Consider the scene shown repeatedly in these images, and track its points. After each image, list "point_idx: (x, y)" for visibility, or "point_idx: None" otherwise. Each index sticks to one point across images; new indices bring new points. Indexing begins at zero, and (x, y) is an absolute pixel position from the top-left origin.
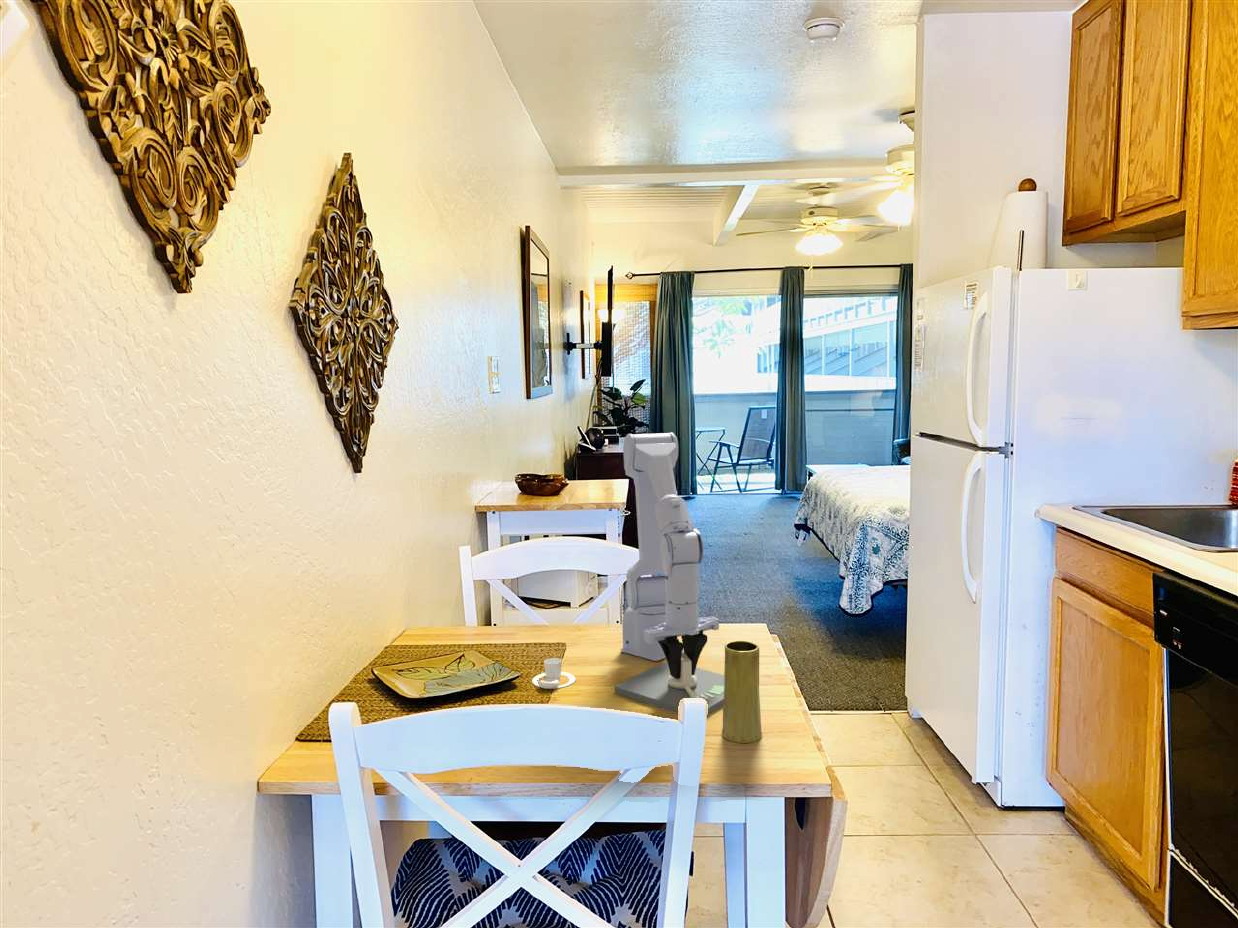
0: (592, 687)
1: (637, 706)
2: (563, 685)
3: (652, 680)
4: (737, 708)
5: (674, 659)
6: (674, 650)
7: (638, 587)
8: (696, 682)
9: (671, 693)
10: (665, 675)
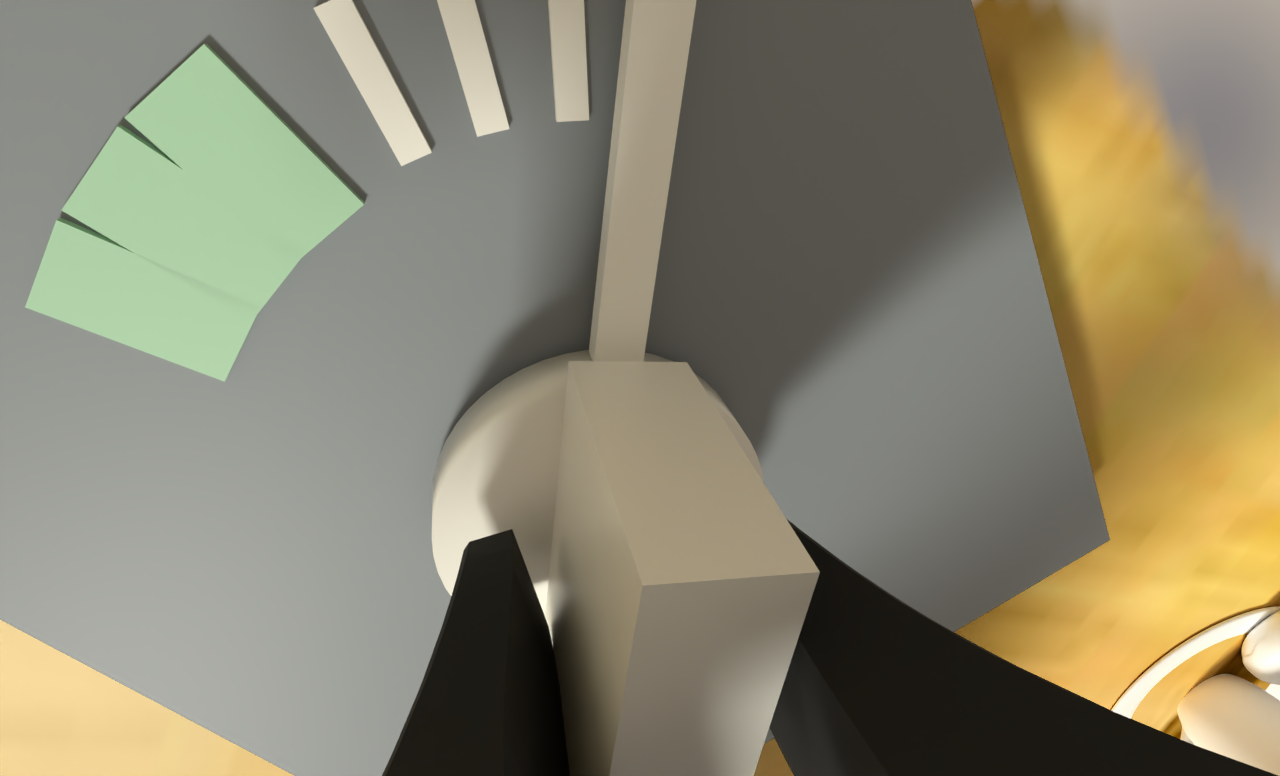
0: (1120, 596)
1: (1094, 227)
2: (1225, 632)
3: None
4: None
5: (948, 635)
6: (1217, 767)
7: None
8: (459, 437)
9: (800, 298)
10: None
